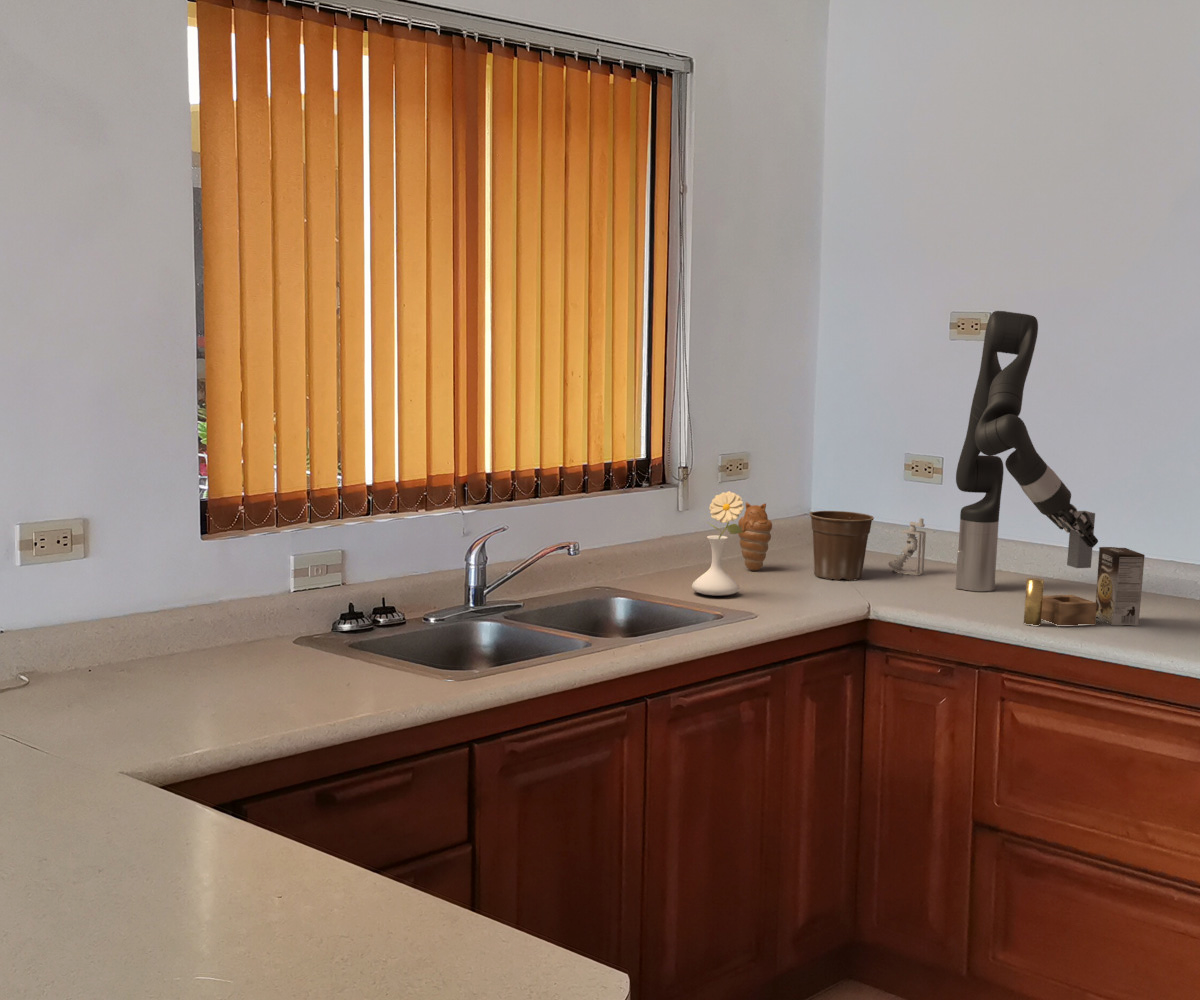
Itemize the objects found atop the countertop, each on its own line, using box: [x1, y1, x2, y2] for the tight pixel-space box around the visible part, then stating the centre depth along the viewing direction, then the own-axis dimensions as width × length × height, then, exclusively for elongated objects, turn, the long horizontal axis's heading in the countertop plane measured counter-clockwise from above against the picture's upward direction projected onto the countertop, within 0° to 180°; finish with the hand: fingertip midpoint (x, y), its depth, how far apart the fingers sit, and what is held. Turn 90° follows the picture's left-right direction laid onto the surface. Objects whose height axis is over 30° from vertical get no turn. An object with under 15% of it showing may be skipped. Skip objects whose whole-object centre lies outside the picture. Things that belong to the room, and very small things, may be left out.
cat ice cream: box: [737, 502, 773, 572], centre depth 344 cm, size 9×8×18 cm
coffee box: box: [1095, 546, 1146, 626], centre depth 293 cm, size 9×6×16 cm
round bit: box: [1023, 577, 1045, 625], centre depth 288 cm, size 4×4×10 cm
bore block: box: [1041, 594, 1097, 625], centre depth 292 cm, size 9×9×5 cm
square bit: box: [1066, 510, 1096, 569], centre depth 287 cm, size 4×4×12 cm
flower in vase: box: [691, 490, 745, 597], centre depth 311 cm, size 13×11×25 cm
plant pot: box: [809, 510, 875, 581], centre depth 339 cm, size 16×16×16 cm
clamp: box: [887, 517, 927, 576], centre depth 347 cm, size 4×10×15 cm, turn 54°
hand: (1088, 542), depth 288 cm, fingers closed on square bit, 3 cm apart
